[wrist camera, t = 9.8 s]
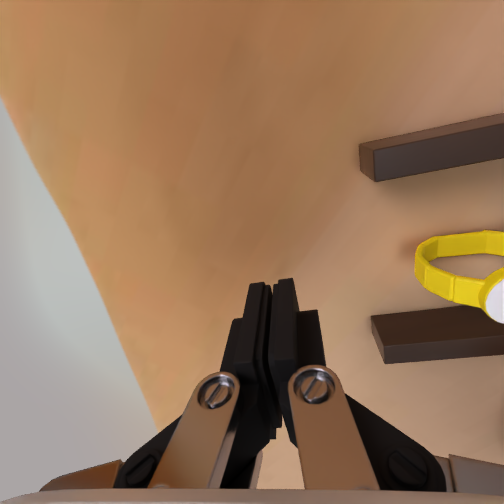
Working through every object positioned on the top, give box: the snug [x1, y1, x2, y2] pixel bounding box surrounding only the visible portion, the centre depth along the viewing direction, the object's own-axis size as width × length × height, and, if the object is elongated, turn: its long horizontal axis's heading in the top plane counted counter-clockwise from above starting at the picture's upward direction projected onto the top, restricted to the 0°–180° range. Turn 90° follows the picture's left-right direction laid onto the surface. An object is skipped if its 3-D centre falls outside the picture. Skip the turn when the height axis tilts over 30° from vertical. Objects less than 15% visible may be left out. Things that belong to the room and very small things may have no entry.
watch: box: [415, 230, 504, 324], centre depth 15 cm, size 6×3×6 cm, turn 102°
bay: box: [359, 113, 504, 364], centre depth 16 cm, size 13×12×3 cm
